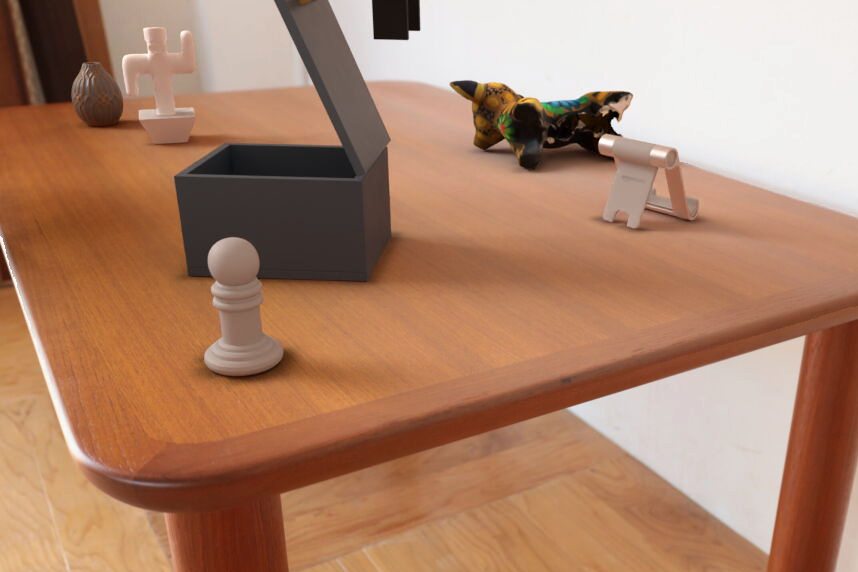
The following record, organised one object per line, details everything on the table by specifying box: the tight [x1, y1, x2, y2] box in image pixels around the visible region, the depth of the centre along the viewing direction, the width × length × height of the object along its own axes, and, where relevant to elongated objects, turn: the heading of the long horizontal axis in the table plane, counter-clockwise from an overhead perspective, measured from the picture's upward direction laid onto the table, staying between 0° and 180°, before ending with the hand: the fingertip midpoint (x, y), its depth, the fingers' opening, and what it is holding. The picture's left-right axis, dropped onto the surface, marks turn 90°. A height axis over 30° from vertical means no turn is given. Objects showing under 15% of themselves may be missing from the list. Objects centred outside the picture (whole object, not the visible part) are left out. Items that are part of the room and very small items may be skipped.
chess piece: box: [203, 237, 285, 377], centre depth 61 cm, size 5×5×9 cm
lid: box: [273, 0, 392, 177], centre depth 75 cm, size 16×13×9 cm
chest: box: [173, 142, 392, 282], centre depth 81 cm, size 16×13×9 cm
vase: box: [70, 61, 124, 127], centre depth 132 cm, size 7×7×9 cm
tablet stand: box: [598, 134, 700, 230], centre depth 93 cm, size 9×8×8 cm
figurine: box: [121, 26, 197, 145], centre depth 122 cm, size 7×9×15 cm
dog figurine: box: [449, 79, 634, 170], centre depth 119 cm, size 20×12×18 cm
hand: (398, 34), depth 74 cm, fingers closed on lid, 6 cm apart
